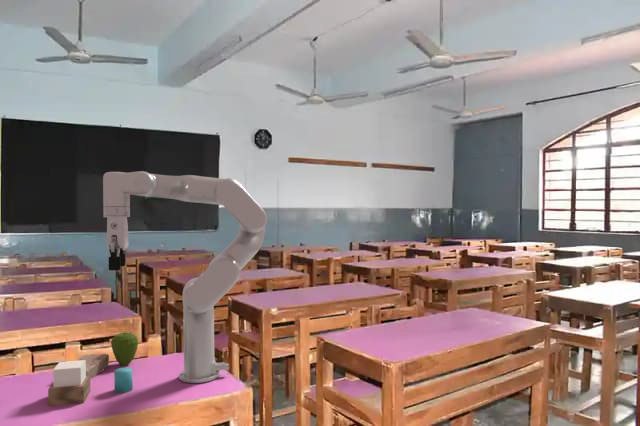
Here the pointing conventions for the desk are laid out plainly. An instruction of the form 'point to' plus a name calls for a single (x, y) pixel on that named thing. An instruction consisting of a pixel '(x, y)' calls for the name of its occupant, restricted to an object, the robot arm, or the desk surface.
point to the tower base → (69, 394)
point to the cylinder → (123, 380)
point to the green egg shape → (124, 347)
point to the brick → (95, 363)
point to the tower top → (69, 373)
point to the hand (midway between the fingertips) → (117, 268)
